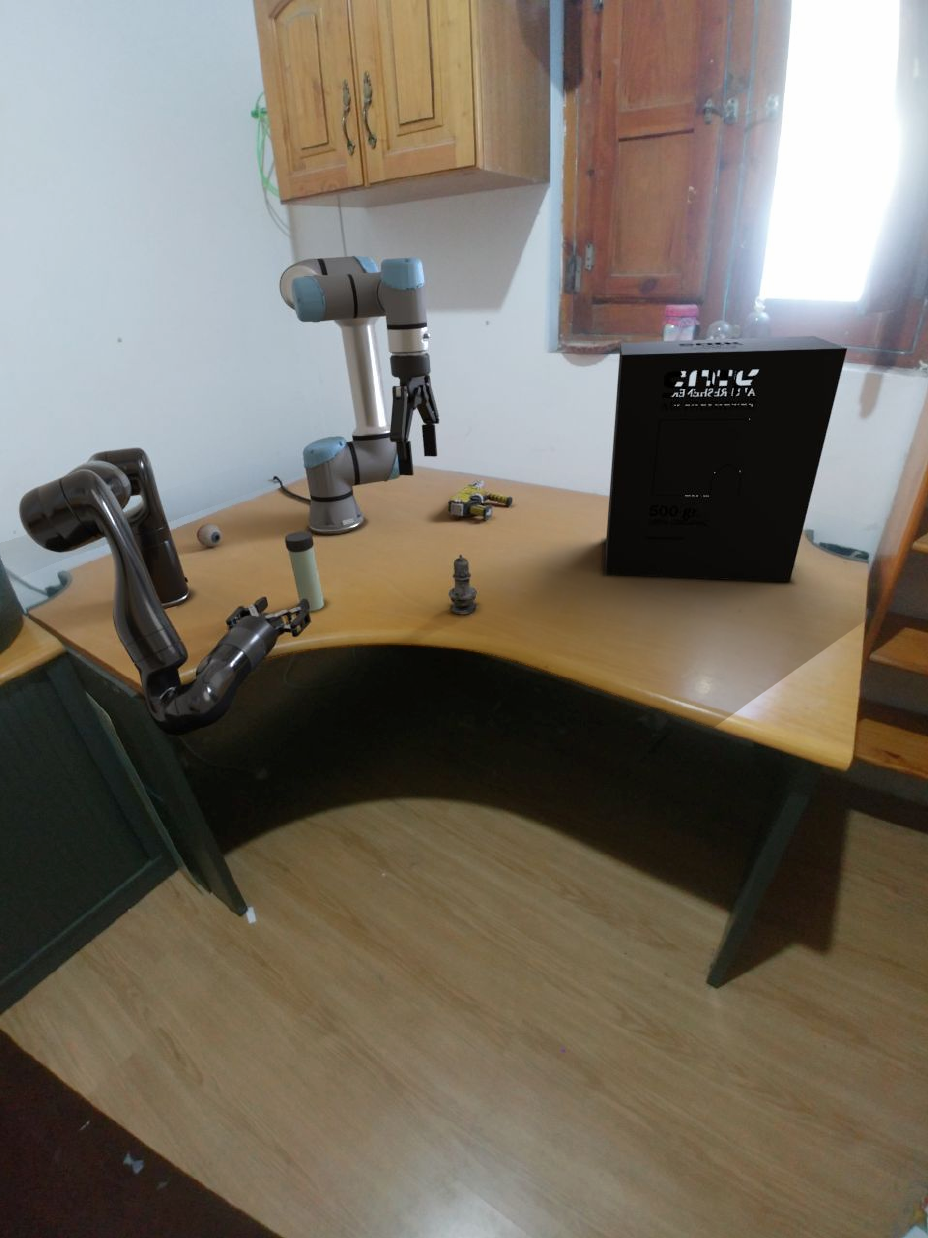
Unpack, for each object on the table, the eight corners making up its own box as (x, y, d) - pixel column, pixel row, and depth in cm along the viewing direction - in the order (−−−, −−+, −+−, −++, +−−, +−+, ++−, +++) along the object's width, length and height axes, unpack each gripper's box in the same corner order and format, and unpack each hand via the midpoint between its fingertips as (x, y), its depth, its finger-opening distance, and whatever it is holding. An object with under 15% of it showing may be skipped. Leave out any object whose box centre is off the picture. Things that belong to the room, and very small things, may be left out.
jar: (317, 598, 131) (304, 531, 124) (328, 606, 128) (315, 538, 120) (296, 605, 129) (282, 538, 121) (307, 614, 125) (292, 544, 118)
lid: (306, 539, 125) (304, 528, 124) (318, 546, 121) (316, 535, 120) (282, 546, 122) (280, 536, 121) (293, 554, 118) (291, 543, 117)
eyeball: (210, 552, 157) (204, 530, 154) (195, 548, 160) (189, 526, 157) (229, 544, 161) (224, 522, 158) (214, 540, 164) (208, 519, 161)
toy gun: (520, 484, 182) (474, 477, 186) (498, 508, 162) (446, 499, 166) (519, 500, 184) (473, 492, 188) (497, 524, 164) (445, 516, 168)
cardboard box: (768, 543, 143) (813, 335, 121) (789, 582, 126) (847, 348, 104) (606, 538, 151) (620, 342, 128) (605, 574, 134) (622, 354, 111)
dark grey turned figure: (475, 615, 121) (472, 561, 115) (446, 614, 122) (442, 560, 116) (480, 601, 126) (478, 548, 120) (452, 600, 127) (449, 547, 121)
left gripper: (278, 630, 100) (316, 585, 113) (201, 626, 102) (247, 582, 116) (287, 667, 103) (323, 620, 117) (212, 662, 106) (256, 616, 120)
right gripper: (401, 362, 102) (413, 484, 113) (449, 344, 122) (455, 449, 133) (362, 362, 104) (377, 482, 115) (415, 345, 125) (424, 448, 135)
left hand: (285, 601), depth 117 cm, fingers open, 8 cm apart
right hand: (419, 465), depth 124 cm, fingers open, 13 cm apart
